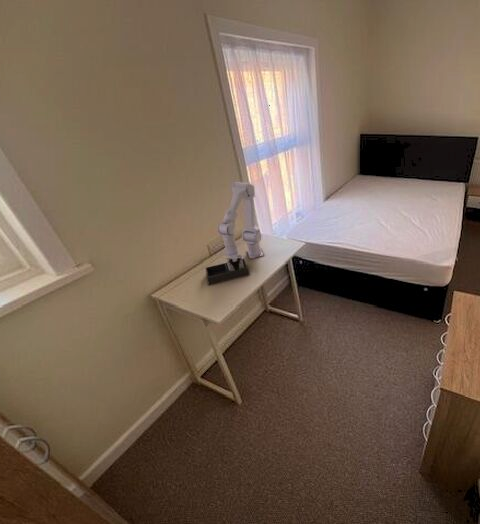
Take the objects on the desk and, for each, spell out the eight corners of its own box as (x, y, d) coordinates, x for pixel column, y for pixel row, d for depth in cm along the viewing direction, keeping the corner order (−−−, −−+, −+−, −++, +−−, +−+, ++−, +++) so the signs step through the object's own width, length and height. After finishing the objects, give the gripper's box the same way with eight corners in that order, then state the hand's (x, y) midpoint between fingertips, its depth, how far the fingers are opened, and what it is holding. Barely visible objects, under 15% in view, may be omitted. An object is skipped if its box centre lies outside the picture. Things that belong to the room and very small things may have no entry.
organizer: (207, 274, 156) (205, 267, 153) (245, 265, 163) (243, 258, 160) (209, 285, 148) (206, 277, 145) (248, 274, 155) (247, 267, 152)
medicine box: (230, 275, 153) (227, 261, 148) (229, 271, 157) (225, 258, 152) (245, 271, 156) (242, 258, 151) (243, 267, 160) (240, 254, 155)
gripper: (220, 240, 151) (226, 261, 159) (224, 252, 140) (230, 274, 148) (234, 237, 154) (239, 258, 161) (238, 249, 143) (243, 271, 150)
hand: (235, 266), depth 155 cm, fingers open, 7 cm apart
